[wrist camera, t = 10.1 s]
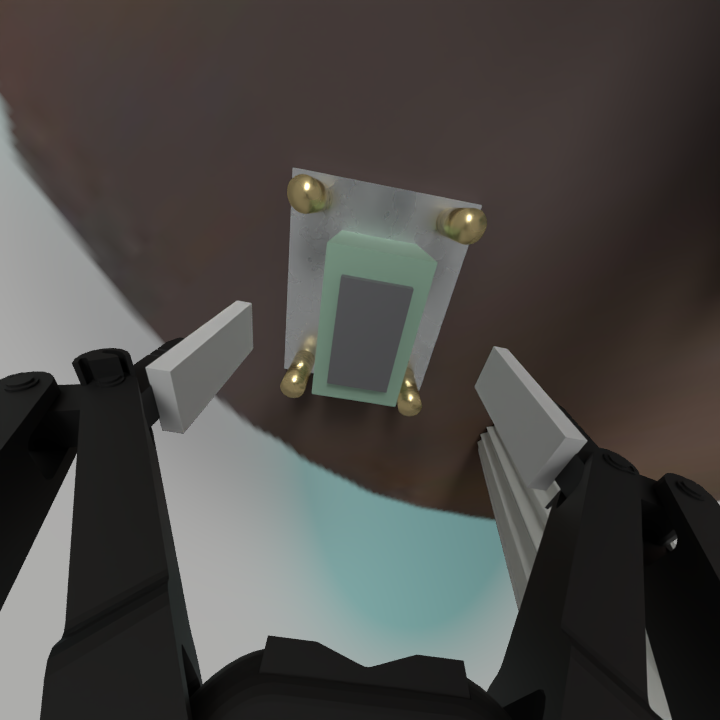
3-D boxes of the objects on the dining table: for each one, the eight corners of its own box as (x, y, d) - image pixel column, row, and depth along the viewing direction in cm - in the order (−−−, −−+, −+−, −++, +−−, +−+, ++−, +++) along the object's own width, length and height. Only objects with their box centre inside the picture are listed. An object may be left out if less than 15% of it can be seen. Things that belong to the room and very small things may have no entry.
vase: (588, 391, 29) (1401, 1088, 6) (557, 476, 36) (896, 971, 13) (459, 398, 30) (738, 1015, 7) (451, 479, 37) (585, 941, 14)
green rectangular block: (341, 230, 22) (325, 243, 14) (416, 244, 22) (440, 264, 14) (327, 343, 26) (309, 398, 19) (389, 354, 27) (395, 412, 19)
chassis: (296, 168, 21) (270, 156, 15) (477, 205, 21) (512, 205, 16) (286, 363, 29) (268, 398, 24) (417, 385, 30) (427, 423, 24)
